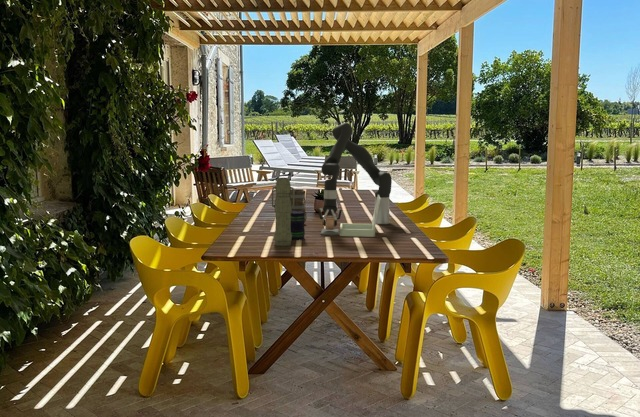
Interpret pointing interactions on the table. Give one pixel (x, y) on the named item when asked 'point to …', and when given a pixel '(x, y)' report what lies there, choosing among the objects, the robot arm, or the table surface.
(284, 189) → the thermos
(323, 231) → the slate mat
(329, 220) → the pot
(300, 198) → the mug
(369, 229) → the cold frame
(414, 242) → the table surface
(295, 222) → the storage jar
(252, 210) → the table surface
